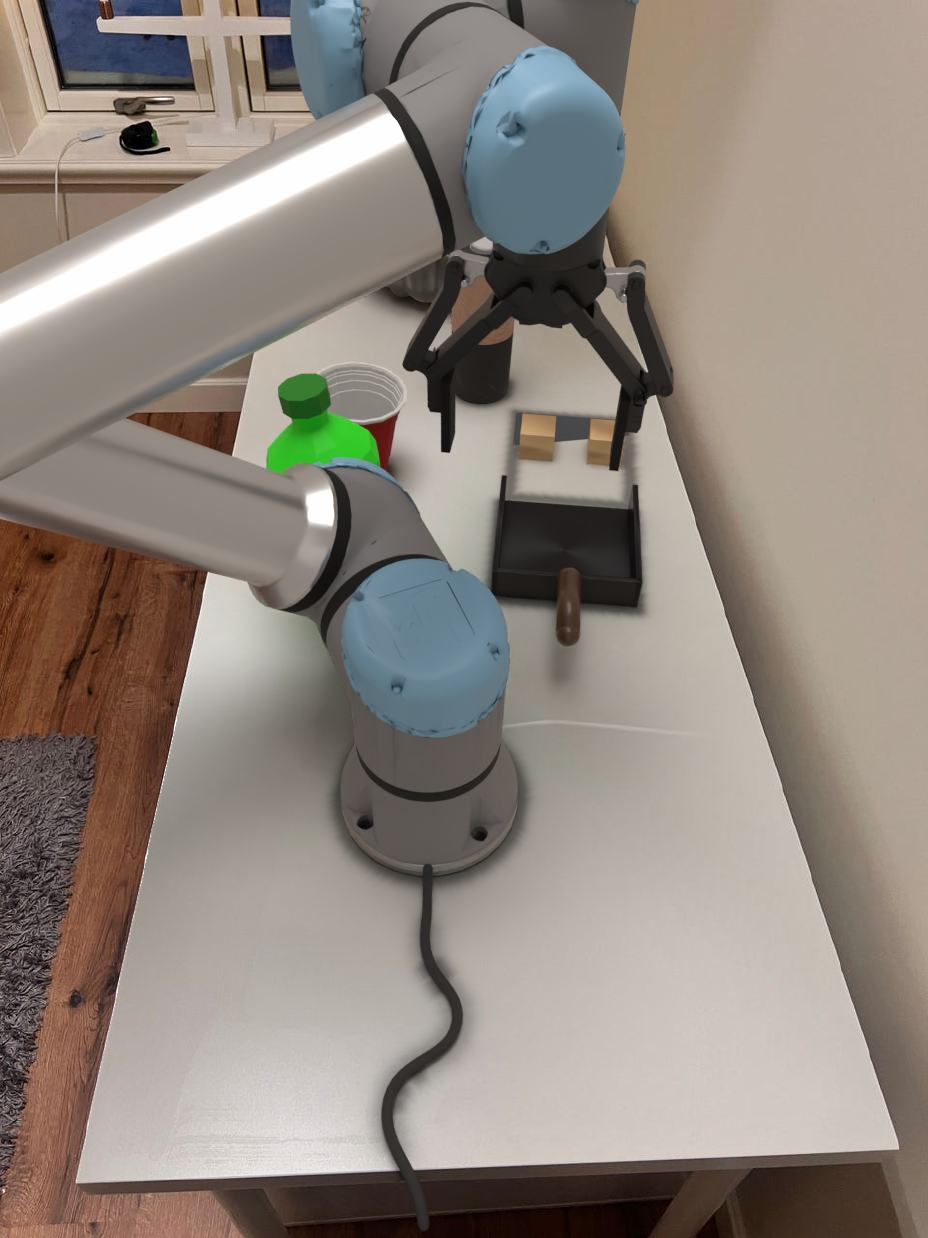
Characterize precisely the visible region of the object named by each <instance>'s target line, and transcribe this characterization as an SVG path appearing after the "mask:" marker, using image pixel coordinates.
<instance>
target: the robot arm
mask: <svg viewBox="0 0 928 1238" xmlns="http://www.w3.org/2000/svg"><path fill="white" fill-rule="evenodd" d="M639 3H640V0H290V7H289V8H290V10H289V25H290V27H289V28H290V38H291V47H292V54H293V59H294V64H295V70H296V75H297V80H298V82H299V86H300V89H301V93H302V95H303V96H302V97H303V98H304V101H305V103H306V106H307V108H308V110H309V112H310V114H311V115H312V117H313V119H315V120H313V121H312V122H309V123H308V124H306V125H304V126H302V127H300V128H297V129H295V130H294V131H291V132H289V133H287V134H285V135H284V136H281V137H279V138H277V139H275V140H273V141H271V142H269V143H267V144H264V145H263V146H260V147H258V148H256V149H255V150H252V151H250V152H248V153H245V154H244V155H242V156H240V157H237V158H236V159H234V160H231V161H230V162H228V163H225V164H223V165H221V166H218V167H217V168H215V169H213V170H211V171H209V172H207V173H204V174H203V175H201V176H198V177H197V178H194V179H193V180H190V181H188V182H186V183H184V184H182V185H180V186H179V187H176V188H174V189H171V190H170V191H168V192H166V193H163V194H161V195H159V196H158V197H155V198H153V199H151V200H149V201H147V202H145V203H143V204H141V205H139V206H136V207H135V208H132V209H130V210H128V211H127V212H124V213H122V214H120V215H118V216H116V217H114V218H111V219H110V220H108V221H106V222H104V223H102V224H99V225H98V226H95V227H93V228H90V229H89V230H87V231H84V232H83V233H81V234H78V235H77V236H74V237H72V238H71V239H68V240H67V241H65V242H62V243H60V244H58V245H56V246H54V247H52V248H50V249H48V250H46V251H43V252H42V253H39V254H38V255H35V256H34V257H32V258H29V259H27V260H25V261H23V262H21V263H19V264H17V265H15V266H13V267H10V268H9V269H6V270H5V271H2V272H1V273H0V520H3V521H8V522H11V523H15V524H19V525H22V526H27V527H30V528H35V529H39V530H42V531H46V532H50V533H54V534H59V535H61V536H66V537H69V538H74V539H77V540H82V541H86V542H89V543H94V544H98V545H100V546H105V547H108V548H113V549H116V550H120V551H125V552H129V553H133V554H136V555H140V556H144V557H148V558H152V559H156V560H159V561H164V562H167V563H172V564H175V565H179V566H183V567H186V568H190V569H194V570H198V571H203V572H207V573H211V574H214V575H218V576H223V577H226V578H230V579H234V580H239V581H242V582H245V583H247V585H248V587H249V590H250V592H251V594H252V596H253V597H254V598H255V599H256V601H258V603H259V604H260V605H262V606H264V607H267V608H270V609H273V610H277V611H280V612H281V611H282V612H284V613H288V614H289V613H290V614H293V615H297V616H302V617H305V618H308V619H309V620H311V621H312V622H313V623H314V624H315V626H316V628H317V630H318V632H319V634H320V637H321V640H322V642H323V644H324V646H325V648H326V650H327V653H328V655H329V657H330V660H331V662H332V664H333V666H334V668H335V671H336V673H337V676H338V678H339V680H340V682H341V684H342V686H343V688H344V691H345V694H346V695H347V696H346V697H347V699H348V702H349V706H350V710H351V718H352V725H353V734H354V740H355V741H354V743H353V744H352V747H351V750H350V751H349V754H348V755H347V757H346V760H345V763H344V766H343V768H342V771H341V775H340V782H339V799H340V806H341V812H342V816H343V820H344V823H345V826H346V828H347V830H348V832H349V834H350V836H351V837H352V839H353V840H354V842H355V843H356V845H358V847H359V848H360V849H361V851H363V852H364V853H365V854H366V855H368V856H369V857H370V858H372V859H373V860H375V861H376V862H377V863H378V864H380V865H382V866H384V867H386V868H389V869H391V870H394V871H397V872H400V873H403V874H407V875H414V876H422V895H421V898H422V901H421V916H420V917H421V918H420V927H419V946H420V953H421V957H422V960H423V963H424V965H425V967H426V969H427V970H428V973H429V974H430V976H431V978H432V979H433V980H434V981H435V983H436V984H437V986H438V987H439V988H440V990H441V991H442V992H443V994H444V995H445V997H446V999H447V1000H448V1002H449V1006H450V1009H451V1022H450V1025H449V1029H448V1031H447V1032H446V1034H445V1035H444V1036H443V1038H442V1039H440V1041H439V1042H437V1043H436V1044H435V1045H434V1046H432V1047H430V1049H428V1050H426V1051H425V1052H423V1053H422V1054H420V1055H418V1056H417V1057H415V1058H414V1059H412V1060H410V1061H409V1062H408V1063H406V1064H405V1065H404V1066H403V1067H401V1068H400V1069H399V1070H398V1072H396V1073H395V1075H394V1076H393V1077H392V1078H391V1080H390V1081H389V1082H388V1085H387V1087H386V1088H385V1092H384V1094H383V1098H382V1103H381V1117H380V1118H381V1127H382V1132H383V1135H384V1139H385V1142H386V1145H387V1147H388V1150H389V1151H390V1153H391V1154H390V1155H391V1156H392V1159H393V1161H394V1163H395V1165H397V1168H398V1170H399V1172H400V1174H401V1176H402V1178H403V1180H404V1181H405V1184H406V1185H407V1186H406V1187H407V1189H408V1191H409V1193H410V1196H411V1199H412V1202H413V1206H414V1210H415V1215H416V1221H417V1226H418V1228H419V1230H420V1231H421V1232H426V1231H428V1230H429V1228H430V1215H429V1210H428V1205H427V1200H426V1197H425V1193H424V1190H423V1188H422V1185H421V1183H420V1181H419V1179H418V1176H417V1174H416V1172H415V1170H414V1168H413V1166H412V1164H411V1162H410V1160H409V1159H408V1156H407V1155H406V1153H405V1151H404V1149H403V1147H402V1145H401V1143H400V1140H399V1138H398V1135H397V1132H396V1128H395V1123H394V1104H395V1100H396V1096H397V1094H398V1091H399V1089H400V1087H401V1085H402V1084H403V1083H405V1082H406V1080H408V1078H409V1077H411V1076H412V1075H413V1074H415V1073H417V1072H418V1071H419V1070H421V1069H422V1068H424V1067H426V1066H427V1065H428V1064H430V1063H432V1062H433V1061H435V1060H436V1059H438V1058H439V1057H440V1056H442V1055H443V1054H444V1053H445V1052H446V1051H448V1050H449V1049H450V1048H451V1046H452V1045H453V1044H454V1043H455V1041H456V1040H457V1038H458V1036H459V1034H460V1032H461V1028H462V1024H463V1016H464V1012H463V1005H462V1003H461V1000H460V997H459V995H458V993H457V991H456V990H455V988H454V987H453V985H452V984H451V983H450V981H449V980H448V978H447V977H446V976H445V974H444V973H443V972H442V970H441V969H440V967H439V965H438V964H437V962H436V960H435V957H434V954H433V951H432V945H431V926H432V916H433V881H434V879H433V876H434V877H435V876H442V875H443V876H444V875H448V874H449V875H450V874H453V873H457V872H460V871H463V870H466V869H468V868H470V867H472V866H474V865H476V864H478V863H480V862H481V861H483V860H484V859H485V858H487V857H488V856H490V855H491V854H492V853H493V852H494V851H496V849H497V848H498V847H500V845H501V844H502V843H503V841H504V840H505V839H506V837H507V835H508V834H509V832H510V830H511V828H512V826H513V823H514V821H515V818H516V813H517V811H518V810H517V809H518V801H519V794H520V793H519V788H520V786H519V785H520V783H519V776H518V772H517V771H518V770H517V768H516V765H515V762H514V760H513V758H512V755H511V753H510V751H509V750H508V747H507V746H506V744H505V741H504V740H503V738H502V734H503V725H504V713H505V701H506V691H507V682H508V681H509V677H510V665H511V646H510V642H509V634H508V626H507V621H506V618H505V614H504V612H503V609H502V607H501V605H500V603H499V601H498V599H497V598H496V596H494V595H493V594H492V592H491V589H490V588H489V587H488V586H487V585H486V584H485V583H484V582H483V581H482V580H480V579H479V578H478V577H477V576H476V575H474V574H473V573H471V572H470V571H468V570H466V569H465V568H460V569H459V570H454V569H453V567H452V566H451V564H450V563H449V561H448V559H447V558H446V556H445V554H444V553H443V551H442V550H441V548H440V546H439V545H438V543H437V541H436V540H435V538H434V537H433V535H432V533H431V532H430V530H429V528H428V527H427V525H426V524H425V522H424V520H423V518H422V516H421V512H420V511H419V508H418V506H417V504H416V503H415V501H414V500H413V498H412V496H411V495H410V494H409V492H408V491H406V490H405V489H404V487H403V486H402V485H401V484H400V483H399V482H398V481H397V480H396V479H395V477H393V476H392V475H391V474H390V473H389V472H388V471H387V472H386V471H385V470H384V469H382V468H380V467H379V466H377V465H375V464H373V463H370V462H368V461H364V460H361V459H356V458H347V457H338V458H332V459H331V461H330V462H329V463H327V464H321V462H316V463H313V464H308V463H298V464H294V465H292V466H290V467H288V468H287V469H285V470H284V471H282V472H281V473H278V472H275V471H272V470H269V469H267V468H266V467H264V466H261V465H258V464H255V463H253V462H249V461H247V460H245V459H241V458H238V457H236V456H233V455H230V454H227V453H225V452H221V451H219V450H216V449H214V448H211V447H208V446H205V445H202V444H199V443H197V442H195V441H194V442H193V441H191V440H188V439H185V438H182V437H180V436H177V435H174V434H171V433H169V432H165V431H164V430H160V429H157V428H155V427H153V426H149V425H146V424H144V423H140V422H138V421H135V420H132V419H129V418H128V417H130V416H132V415H134V414H136V413H137V412H140V411H142V410H144V409H145V408H147V407H150V406H152V405H154V404H156V403H158V402H159V401H162V400H164V399H165V398H167V397H169V396H171V395H173V394H176V393H178V392H179V391H181V390H183V389H185V388H187V387H189V386H191V385H193V384H195V383H198V382H199V381H201V380H203V379H205V378H207V377H209V376H212V375H213V374H215V373H217V372H219V371H221V370H223V369H225V368H227V367H229V366H231V365H233V364H234V363H237V362H238V361H240V360H243V359H244V358H246V357H249V356H250V355H253V354H255V353H256V352H258V351H260V350H263V349H264V348H267V347H268V346H270V345H272V344H274V343H276V342H278V341H280V340H282V339H285V338H286V337H288V336H290V335H292V334H295V333H296V332H298V331H300V330H302V329H304V328H306V327H308V326H310V325H312V324H314V323H316V322H317V321H319V320H322V319H323V318H325V317H328V316H329V315H331V314H335V312H337V311H339V310H342V309H343V308H346V307H348V306H349V305H352V304H353V303H355V302H357V301H360V300H361V299H364V298H365V297H367V296H369V295H371V294H373V293H375V292H377V291H379V290H381V289H382V288H385V287H387V285H389V284H391V283H393V282H395V281H397V280H399V279H401V278H403V277H405V276H407V275H409V274H411V273H413V272H415V271H417V270H418V269H420V268H422V267H424V266H426V265H428V264H430V263H432V262H434V261H436V260H438V259H440V258H442V257H444V256H446V255H448V254H450V256H449V259H448V262H447V265H446V270H445V278H444V282H443V283H442V285H441V287H440V289H439V291H438V293H437V294H436V296H435V298H434V300H433V302H430V303H431V304H430V305H429V306H428V309H427V311H426V313H425V314H424V316H423V317H422V320H421V321H420V323H419V325H418V327H417V329H416V330H415V332H414V334H413V336H412V338H411V340H410V341H409V343H408V345H407V348H406V351H405V354H404V357H403V359H402V363H401V364H402V365H401V366H402V367H403V370H405V371H406V372H409V373H413V372H419V373H421V374H423V375H424V376H425V378H426V389H427V390H426V391H427V393H426V395H427V397H426V399H427V408H428V410H429V412H430V413H437V414H440V453H443V454H445V453H447V454H451V452H452V447H453V444H454V440H455V435H456V408H457V407H456V406H457V405H456V404H457V403H456V402H457V401H456V399H457V397H456V396H457V394H456V364H457V363H458V362H459V361H460V360H461V359H463V358H464V357H465V356H466V355H467V354H468V353H469V352H470V351H471V350H472V349H473V348H474V347H476V346H477V345H478V344H479V343H480V342H481V341H482V340H483V339H484V338H485V337H486V336H487V335H489V334H490V333H491V332H492V331H493V330H497V329H498V328H499V327H500V326H501V325H503V324H504V323H505V322H506V321H507V320H508V319H509V318H510V317H512V318H514V321H517V322H518V325H521V326H535V325H543V326H546V327H549V328H552V329H563V326H566V325H569V324H571V325H572V327H573V328H574V329H575V330H576V332H577V333H578V334H579V336H580V337H581V338H582V339H586V340H587V342H588V343H589V345H590V346H591V347H592V348H593V350H594V351H595V352H596V353H597V355H598V356H599V358H600V359H601V361H603V363H604V364H605V366H606V367H607V368H608V370H610V373H612V375H613V376H614V377H615V379H616V380H617V381H618V382H619V384H620V390H619V396H618V401H617V408H616V413H615V419H614V420H615V425H614V432H613V438H612V444H611V450H610V463H609V466H608V471H612V472H619V470H620V467H619V465H620V459H621V453H622V448H623V442H624V436H625V432H629V434H630V433H631V434H638V433H639V431H641V428H642V423H643V417H644V413H645V407H646V405H647V403H648V399H649V398H651V397H654V396H657V395H658V396H659V397H662V398H668V397H670V396H671V395H672V394H673V393H674V367H673V365H672V362H671V359H670V357H669V354H668V351H667V348H666V345H665V343H664V339H663V337H662V334H661V331H660V328H659V326H658V323H657V320H656V317H655V313H654V311H653V309H652V306H651V303H650V300H649V297H648V294H647V292H646V278H647V277H646V276H647V265H646V263H645V261H644V260H641V259H634V260H632V261H631V262H629V265H628V266H621V267H619V266H618V267H617V266H616V267H613V266H612V267H607V266H606V263H605V260H604V250H605V245H606V235H607V228H608V220H609V213H610V207H611V204H612V201H613V200H614V197H615V196H616V194H617V191H618V188H619V186H620V184H621V180H622V176H623V173H624V167H625V161H626V135H627V134H626V133H625V130H624V126H623V122H622V118H621V114H622V109H623V103H624V95H625V88H626V81H627V73H628V66H629V59H630V51H631V45H632V39H633V30H634V26H635V18H636V11H637V5H638V4H639ZM484 237H486V238H487V239H489V240H490V241H492V242H493V248H492V252H491V254H490V255H489V257H484V256H479V255H474V254H469V253H468V250H467V248H466V246H468V245H470V244H472V243H474V242H476V241H478V240H480V239H482V238H484ZM480 276H483V277H485V280H486V282H487V283H488V285H489V286H490V288H491V289H492V291H493V292H492V294H491V295H490V296H489V297H488V299H487V301H486V302H485V303H484V304H483V305H482V306H481V307H480V308H479V309H478V310H476V311H475V312H474V313H473V314H472V315H471V316H470V317H469V318H468V319H467V320H466V321H465V322H464V323H463V324H462V325H461V326H460V327H459V328H458V329H457V330H456V331H455V332H454V333H453V334H452V333H451V334H450V335H449V336H448V337H447V338H446V339H445V340H444V341H443V342H442V343H441V344H440V345H439V346H438V347H436V346H434V347H433V349H432V350H431V349H430V347H431V346H432V344H433V343H434V341H435V339H436V337H437V336H438V334H439V332H440V330H441V329H442V326H443V325H444V323H445V321H446V320H447V318H448V316H449V315H450V313H451V312H452V308H453V306H454V304H455V302H456V300H457V298H458V296H459V293H460V289H461V287H462V288H467V287H470V286H471V285H472V284H473V282H474V280H475V279H476V278H477V277H480ZM606 288H607V289H611V290H612V291H613V292H614V295H615V297H616V299H617V300H618V301H620V303H623V304H625V303H626V309H627V310H626V311H627V316H628V319H629V321H630V324H631V327H632V330H633V332H634V335H635V338H636V341H637V343H638V345H639V349H640V352H641V353H642V355H643V359H644V362H645V365H646V368H647V369H648V371H647V370H645V369H644V366H642V364H641V363H640V362H639V360H638V359H637V357H636V356H635V355H634V353H633V351H631V350H630V348H629V346H628V345H627V344H626V342H625V341H624V340H623V338H622V337H621V336H620V334H619V333H618V332H617V330H616V329H615V328H614V326H613V325H612V323H611V322H610V321H609V319H608V318H607V317H606V315H605V314H604V313H603V311H602V308H601V305H600V303H599V302H598V300H597V298H598V297H599V296H600V295H601V294H602V293H603V292H604V291H605V289H606ZM625 437H626V436H625ZM623 449H624V448H623ZM620 466H621V465H620Z"/></svg>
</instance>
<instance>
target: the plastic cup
mask: <svg viewBox="0 0 928 1238" xmlns="http://www.w3.org/2000/svg"><path fill="white" fill-rule="evenodd" d="M316 374H318V375H320V376H322V377H324V378H326V381H327V385H328V389H329V393H330V398H331V406H330V407H329V408H328V409H327V411H328V413H332V414H336V415H338V416H341V417H344V418H347V419H349V420H351V421H352V422H354V423H356V424H358V425H360V426H361V427H363V428H365V429H367V430H368V431H369V432H370V433H371V435H372V436H373V437H374V439H375V440H376V444H377V448H378V454H379V461H380V468H382V469H384V470H385V471H386V472H388V469H389V462H390V458H391V453H392V448H393V441H394V435H395V430H396V425H397V420H398V418H399V415H400V412H401V410H402V408H403V407H404V406H405V405H406V404H407V399H408V398H407V397H408V388H407V386H406V385H405V383H404V381H403V379H402V378H401V377H400V376H399V375H397V374H396V373H395V372H393V371H391V370H390V369H389V368H386V367H384V366H381V365H378V364H374V363H372V362H364V361H363V362H361V361H347V362H340V363H333V364H331V365H329V366H326V367H324V368H321V369H320V370H318V371H317V372H316Z"/></svg>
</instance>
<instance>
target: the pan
mask: <svg viewBox="0 0 928 1238" xmlns="http://www.w3.org/2000/svg"><path fill="white" fill-rule="evenodd" d="M500 478H501V479H500V486H499V487H500V488H499V498H498V508H497V518H496V528H495V538H494V539H495V540H494V546H493V547H494V549H493V558H492V566H491V567H492V568H491V580H490V581H491V582H490V583H491V584H490V591H491V592H492V594H493V595H494V596H495V598H496V597H497V598H509V599H510V598H511V599H523V600H536V601H547V602H549V601H550V602H556V613H555V614H556V616H555V617H556V619H555V638H556V641H557V642H558V644H560V645H561V646H563V647H573V646H574V645H576V644H577V643H578V642H579V640H580V638H581V613H582V612H581V607H582V606H581V605H582V604H587V605H598V606H599V605H601V606H611V607H612V606H613V607H624V608H638V604H639V600H640V596H641V592H642V588H643V563H642V562H643V561H642V542H641V524H640V523H641V519H640V499H639V498H640V497H639V485H638V484H632V485H631V491H630V495H629V501H628V505H627V506H628V507H627V508H618V507H605V506H591V505H579V504H578V505H577V504H564V503H551V502H550V503H549V502H539V501H538V502H536V501H523V500H507V499H506V498H507V482H508V475H507V474H505V475H504V474H502V475H501V477H500Z"/></svg>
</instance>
